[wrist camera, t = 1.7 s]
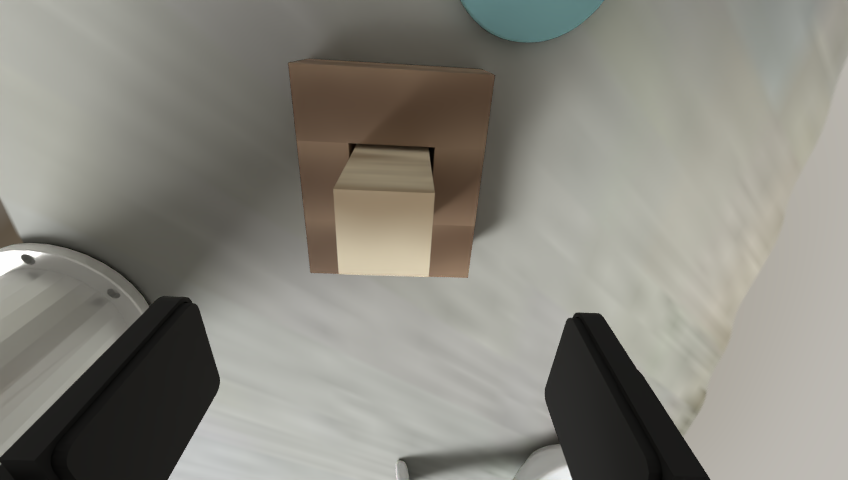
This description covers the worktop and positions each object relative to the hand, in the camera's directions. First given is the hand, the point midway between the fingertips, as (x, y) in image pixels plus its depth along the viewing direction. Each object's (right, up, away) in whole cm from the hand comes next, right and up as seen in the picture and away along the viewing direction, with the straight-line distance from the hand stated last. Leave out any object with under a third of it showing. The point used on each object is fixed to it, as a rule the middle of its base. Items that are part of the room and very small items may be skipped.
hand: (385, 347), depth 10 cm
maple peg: (-1, +8, +15) cm, 17 cm away
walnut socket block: (-1, +8, +15) cm, 17 cm away
